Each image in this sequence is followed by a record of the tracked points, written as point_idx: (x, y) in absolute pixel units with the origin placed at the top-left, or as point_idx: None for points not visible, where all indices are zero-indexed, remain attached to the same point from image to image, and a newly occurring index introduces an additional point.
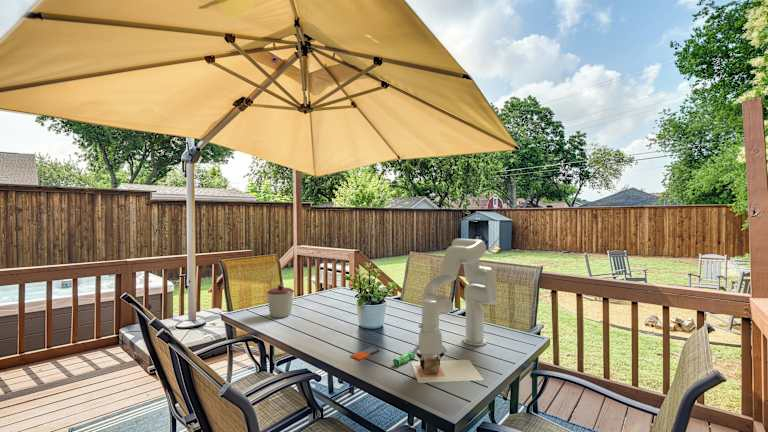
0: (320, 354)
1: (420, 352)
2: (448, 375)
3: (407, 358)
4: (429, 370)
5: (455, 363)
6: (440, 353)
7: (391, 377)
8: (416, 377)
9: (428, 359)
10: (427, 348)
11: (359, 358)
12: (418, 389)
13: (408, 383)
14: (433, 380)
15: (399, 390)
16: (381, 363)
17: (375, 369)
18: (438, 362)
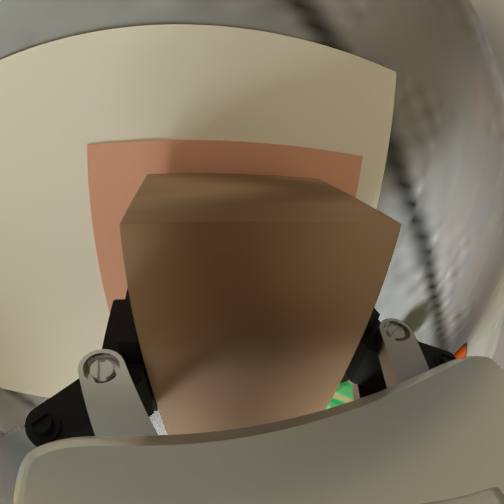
0: (488, 350)
1: (501, 368)
2: (52, 165)
3: (346, 393)
4: (285, 183)
5: (18, 364)
6: (55, 448)
7: (474, 204)
8: (385, 160)
9: (301, 345)
10: (491, 481)
11: (464, 351)
12: (404, 2)
13: (441, 100)
14: (254, 58)
15: (478, 55)
16: (434, 341)
17: (474, 287)
18: (134, 230)
